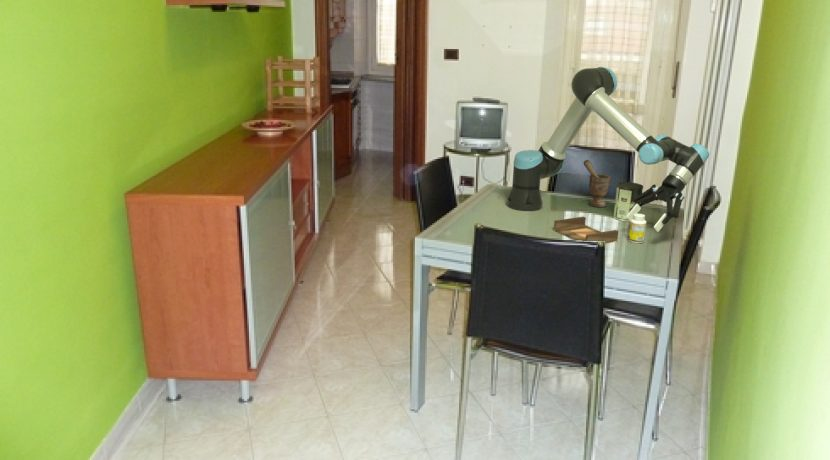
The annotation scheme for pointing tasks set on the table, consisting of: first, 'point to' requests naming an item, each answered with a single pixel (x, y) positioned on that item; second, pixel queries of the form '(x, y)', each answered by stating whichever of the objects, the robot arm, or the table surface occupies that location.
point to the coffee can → (625, 199)
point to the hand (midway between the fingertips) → (641, 224)
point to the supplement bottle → (637, 228)
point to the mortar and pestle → (597, 186)
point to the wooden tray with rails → (583, 230)
